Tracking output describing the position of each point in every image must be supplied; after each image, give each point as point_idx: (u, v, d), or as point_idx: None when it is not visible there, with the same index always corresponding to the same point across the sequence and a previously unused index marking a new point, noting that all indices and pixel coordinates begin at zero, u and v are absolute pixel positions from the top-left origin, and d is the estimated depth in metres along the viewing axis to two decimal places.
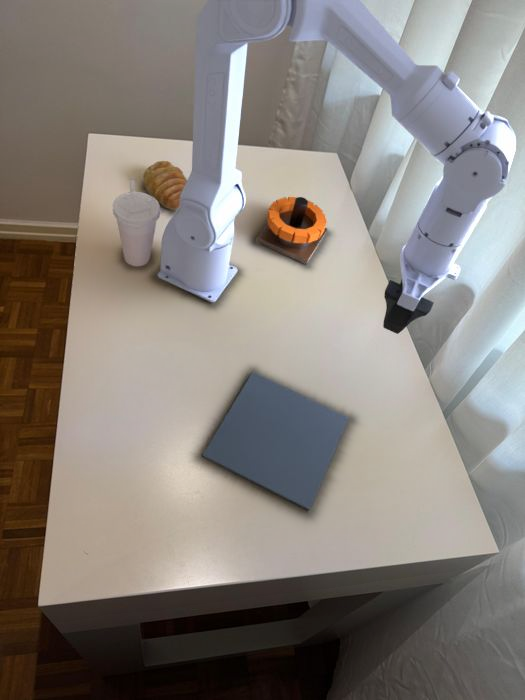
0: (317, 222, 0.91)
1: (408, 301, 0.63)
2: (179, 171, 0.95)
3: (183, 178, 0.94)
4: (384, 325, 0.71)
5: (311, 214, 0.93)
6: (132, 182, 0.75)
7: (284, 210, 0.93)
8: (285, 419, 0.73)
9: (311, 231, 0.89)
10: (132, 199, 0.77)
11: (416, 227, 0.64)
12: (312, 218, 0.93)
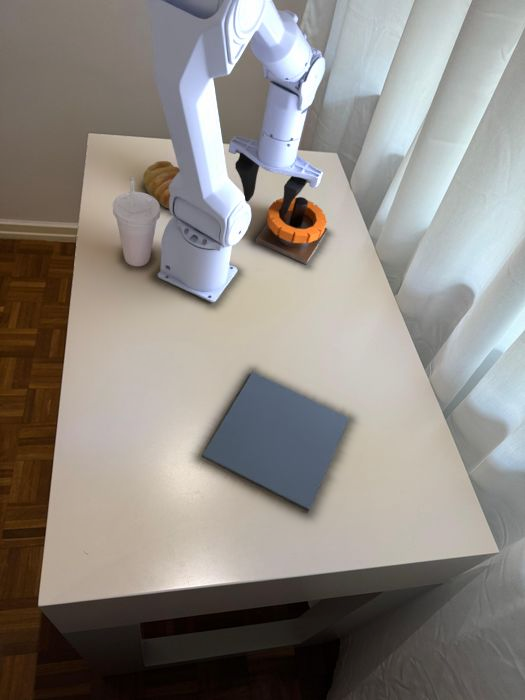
0: (317, 222, 0.91)
1: (319, 179, 0.85)
2: None
3: None
4: (283, 215, 0.91)
5: (311, 214, 0.93)
6: (132, 182, 0.75)
7: None
8: (285, 419, 0.73)
9: (311, 231, 0.89)
10: (132, 199, 0.77)
11: (279, 143, 0.80)
12: (312, 218, 0.93)
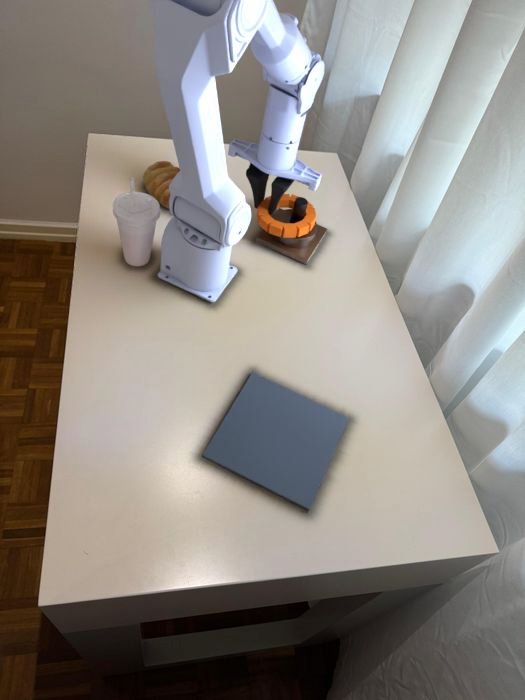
0: (306, 216, 0.90)
1: (318, 182, 0.85)
2: None
3: None
4: (271, 213, 0.91)
5: None
6: (132, 182, 0.75)
7: None
8: (285, 419, 0.73)
9: (300, 225, 0.89)
10: (132, 199, 0.77)
11: (279, 146, 0.80)
12: None
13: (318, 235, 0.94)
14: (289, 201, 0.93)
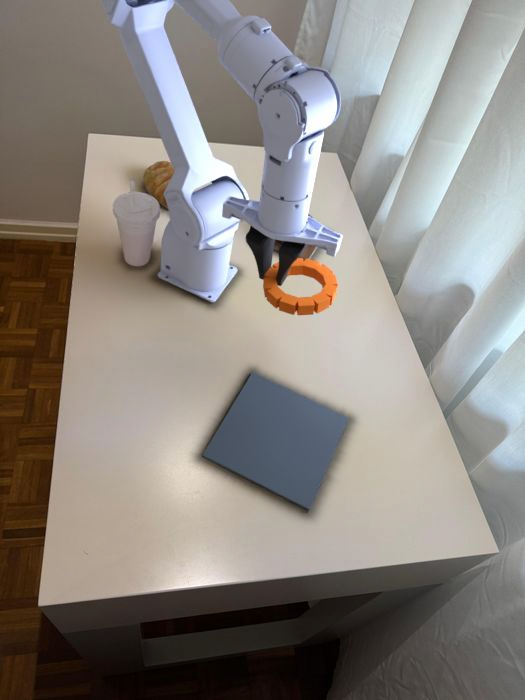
0: (326, 286, 0.72)
1: (338, 245, 0.66)
2: None
3: None
4: (281, 283, 0.73)
5: (318, 276, 0.74)
6: (132, 182, 0.75)
7: None
8: (285, 419, 0.73)
9: (319, 298, 0.70)
10: (132, 199, 0.77)
11: (285, 205, 0.62)
12: (320, 281, 0.74)
13: None
14: (303, 267, 0.75)
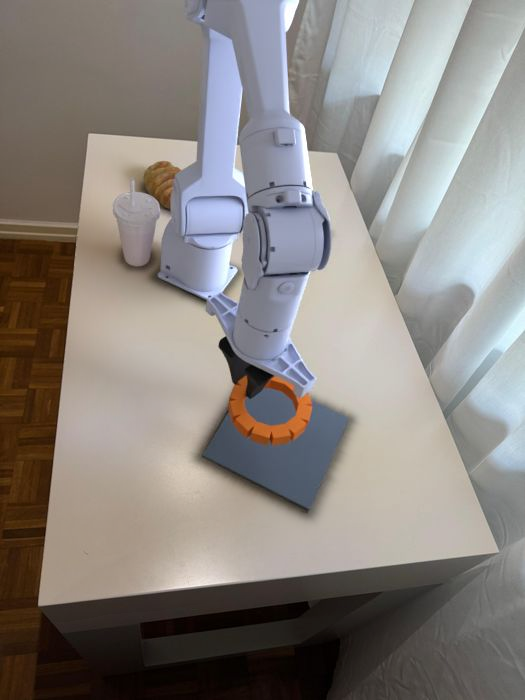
0: (294, 419, 0.63)
1: (308, 387, 0.57)
2: (179, 171, 0.95)
3: None
4: (250, 397, 0.65)
5: (295, 402, 0.66)
6: (132, 182, 0.75)
7: None
8: (285, 419, 0.73)
9: (278, 431, 0.62)
10: (132, 199, 0.77)
11: (253, 331, 0.55)
12: (296, 408, 0.66)
13: None
14: (283, 386, 0.66)
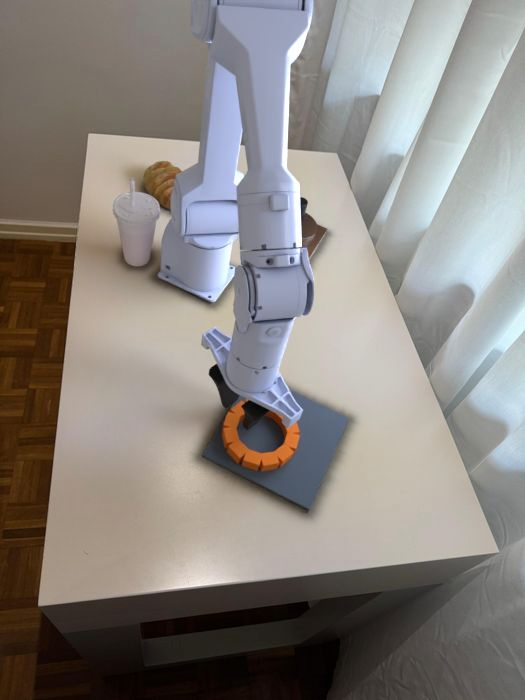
0: (283, 447, 0.68)
1: (295, 418, 0.62)
2: (179, 171, 0.95)
3: None
4: (247, 428, 0.70)
5: (284, 429, 0.71)
6: (132, 182, 0.75)
7: None
8: None
9: (267, 459, 0.67)
10: (132, 199, 0.77)
11: (244, 368, 0.59)
12: (284, 435, 0.71)
13: (318, 235, 0.94)
14: (274, 413, 0.71)
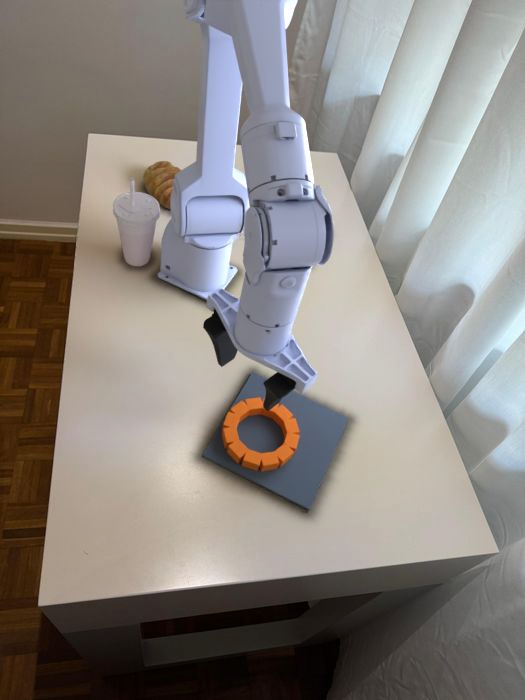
0: (283, 447, 0.68)
1: (310, 383, 0.57)
2: None
3: None
4: (268, 409, 0.64)
5: (284, 429, 0.71)
6: (132, 182, 0.75)
7: (253, 413, 0.72)
8: None
9: (267, 459, 0.67)
10: (132, 199, 0.77)
11: (255, 326, 0.54)
12: (284, 435, 0.71)
13: None
14: (274, 413, 0.71)
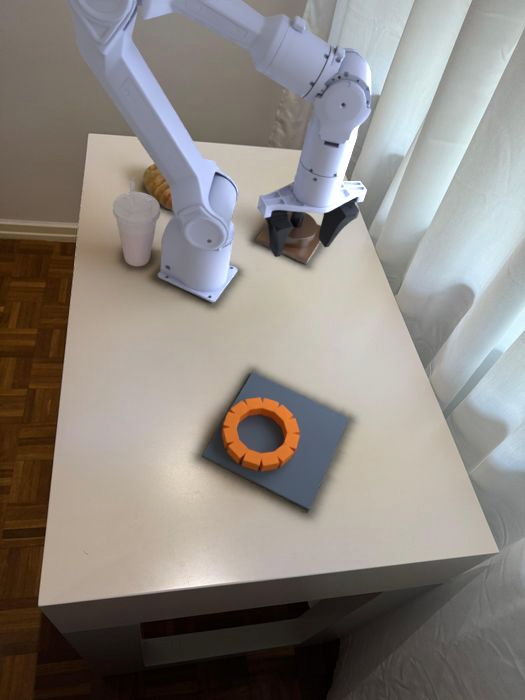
0: (283, 447, 0.68)
1: None
2: None
3: None
4: (329, 244, 0.80)
5: (284, 429, 0.71)
6: (132, 182, 0.75)
7: (253, 413, 0.72)
8: None
9: (267, 459, 0.67)
10: (132, 199, 0.77)
11: (339, 178, 0.68)
12: (284, 435, 0.71)
13: (318, 235, 0.94)
14: (274, 413, 0.71)
